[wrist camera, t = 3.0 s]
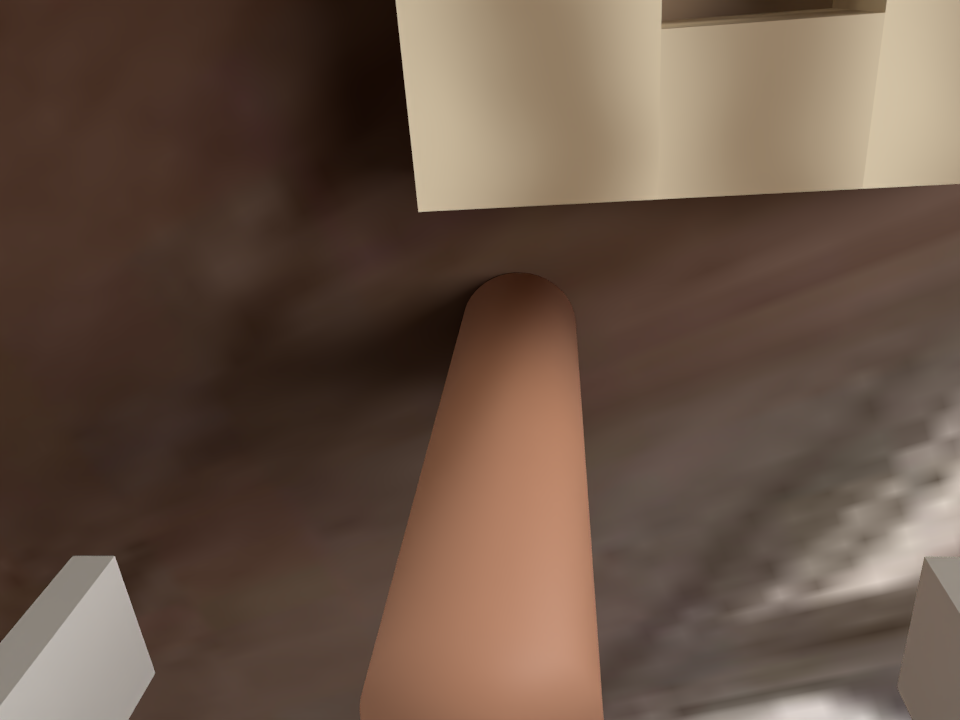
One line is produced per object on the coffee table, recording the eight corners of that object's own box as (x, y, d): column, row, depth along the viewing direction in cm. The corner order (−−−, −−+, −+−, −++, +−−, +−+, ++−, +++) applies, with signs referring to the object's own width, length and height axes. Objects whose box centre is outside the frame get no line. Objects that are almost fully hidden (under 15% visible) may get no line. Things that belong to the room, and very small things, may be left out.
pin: (467, 378, 26) (376, 800, 13) (457, 275, 25) (343, 628, 11) (577, 375, 26) (604, 807, 12) (574, 270, 24) (602, 630, 11)
